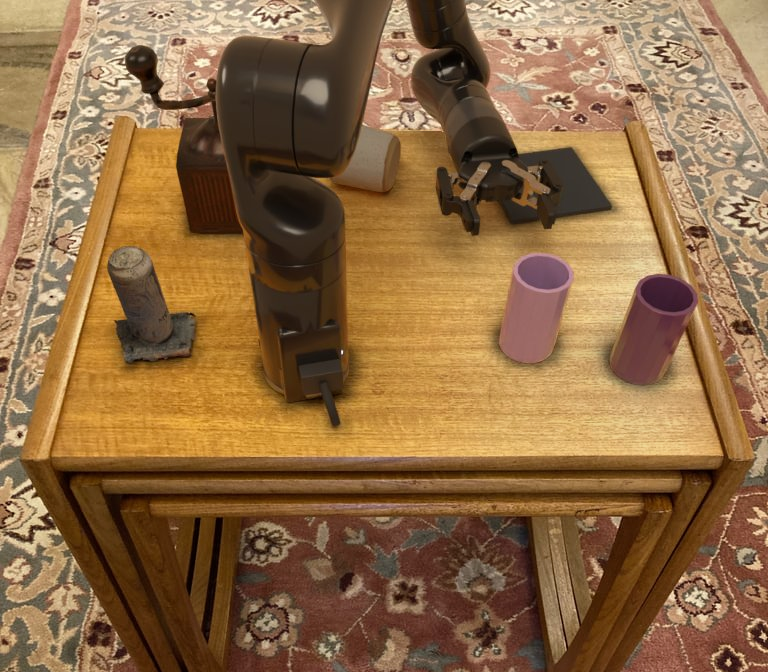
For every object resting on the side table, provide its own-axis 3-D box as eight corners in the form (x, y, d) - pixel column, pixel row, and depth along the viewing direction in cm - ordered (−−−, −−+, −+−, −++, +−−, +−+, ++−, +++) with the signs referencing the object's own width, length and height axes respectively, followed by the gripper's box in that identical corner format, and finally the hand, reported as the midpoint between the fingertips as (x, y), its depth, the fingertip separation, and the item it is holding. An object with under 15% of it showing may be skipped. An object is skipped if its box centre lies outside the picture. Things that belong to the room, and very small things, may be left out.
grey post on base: (125, 373, 82) (93, 284, 72) (114, 326, 86) (82, 236, 76) (208, 355, 84) (187, 265, 74) (194, 309, 88) (172, 219, 78)
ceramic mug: (387, 205, 100) (389, 149, 94) (328, 194, 101) (326, 137, 95) (407, 162, 106) (410, 107, 100) (351, 152, 107) (351, 96, 101)
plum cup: (674, 379, 84) (709, 309, 76) (623, 389, 83) (652, 319, 75) (650, 341, 87) (680, 269, 79) (600, 350, 86) (625, 278, 78)
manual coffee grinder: (275, 182, 102) (260, 39, 87) (271, 234, 96) (255, 89, 81) (158, 182, 102) (123, 38, 87) (147, 234, 96) (107, 89, 81)
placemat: (611, 209, 101) (612, 205, 100) (512, 224, 99) (512, 220, 98) (570, 150, 108) (571, 146, 108) (477, 163, 106) (478, 159, 105)
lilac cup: (561, 358, 85) (583, 287, 77) (509, 367, 84) (525, 296, 76) (541, 321, 89) (560, 248, 80) (491, 329, 88) (504, 257, 79)
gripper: (425, 119, 90) (455, 201, 81) (540, 110, 92) (582, 190, 83) (421, 177, 96) (448, 259, 88) (529, 168, 98) (567, 248, 89)
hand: (513, 226), depth 85 cm, fingers open, 8 cm apart
